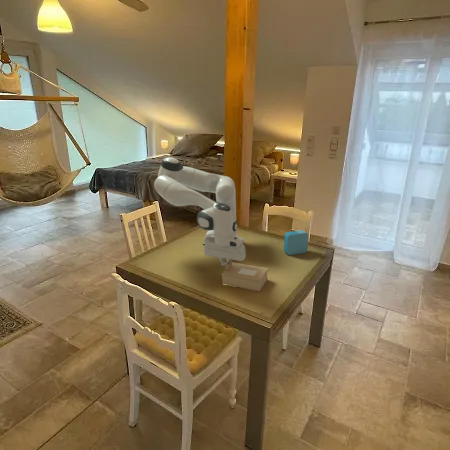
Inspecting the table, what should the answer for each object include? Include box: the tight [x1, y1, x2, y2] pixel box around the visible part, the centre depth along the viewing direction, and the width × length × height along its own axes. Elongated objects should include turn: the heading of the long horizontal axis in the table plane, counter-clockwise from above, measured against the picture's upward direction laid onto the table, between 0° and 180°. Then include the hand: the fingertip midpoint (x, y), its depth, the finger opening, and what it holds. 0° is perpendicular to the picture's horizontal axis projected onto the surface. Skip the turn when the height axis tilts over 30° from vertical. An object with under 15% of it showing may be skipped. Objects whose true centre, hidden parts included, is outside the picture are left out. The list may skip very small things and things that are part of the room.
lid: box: [221, 259, 269, 282], centre depth 163 cm, size 18×13×4 cm
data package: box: [283, 229, 309, 256], centre depth 192 cm, size 12×4×12 cm, turn 105°
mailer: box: [221, 271, 268, 293], centre depth 164 cm, size 18×12×5 cm, turn 67°
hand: (224, 265), depth 167 cm, fingers closed
